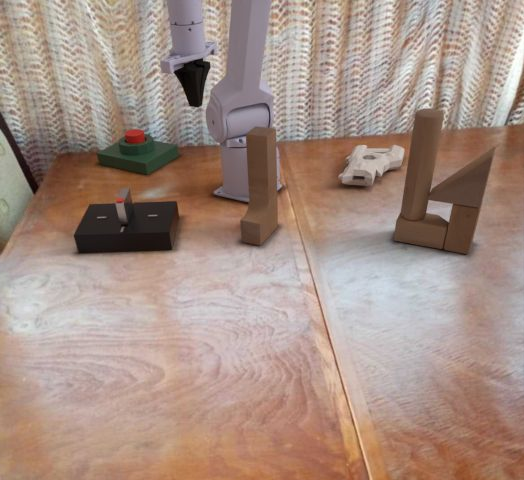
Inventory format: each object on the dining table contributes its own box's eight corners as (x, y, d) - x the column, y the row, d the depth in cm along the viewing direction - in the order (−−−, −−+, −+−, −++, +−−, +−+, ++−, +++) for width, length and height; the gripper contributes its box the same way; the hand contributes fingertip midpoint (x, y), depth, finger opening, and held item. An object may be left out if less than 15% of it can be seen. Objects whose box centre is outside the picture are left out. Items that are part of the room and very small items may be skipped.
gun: (396, 173, 88) (336, 169, 91) (394, 193, 90) (335, 189, 93) (406, 139, 102) (353, 136, 104) (404, 158, 104) (352, 154, 106)
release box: (179, 155, 107) (176, 135, 104) (147, 175, 101) (143, 153, 98) (132, 146, 112) (128, 126, 109) (99, 164, 105) (94, 143, 103)
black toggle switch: (179, 217, 87) (176, 199, 85) (172, 250, 80) (169, 231, 78) (93, 221, 88) (89, 203, 85) (78, 253, 80) (72, 234, 78)
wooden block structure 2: (468, 255, 76) (501, 124, 64) (392, 241, 79) (411, 115, 68) (472, 243, 78) (504, 114, 66) (398, 230, 82) (417, 106, 70)
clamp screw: (126, 209, 84) (121, 186, 81) (134, 209, 84) (129, 186, 81) (120, 225, 80) (114, 201, 77) (128, 224, 80) (123, 201, 77)
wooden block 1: (259, 222, 85) (255, 125, 75) (278, 226, 84) (276, 128, 74) (241, 242, 81) (234, 142, 71) (260, 246, 80) (256, 145, 70)
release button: (149, 140, 104) (147, 130, 103) (137, 146, 102) (135, 137, 101) (134, 137, 106) (133, 128, 104) (122, 143, 103) (120, 134, 102)
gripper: (191, 12, 98) (200, 92, 107) (140, 29, 88) (154, 114, 97) (224, 15, 95) (230, 96, 104) (175, 32, 86) (186, 120, 95)
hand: (195, 105), depth 100 cm, fingers closed
